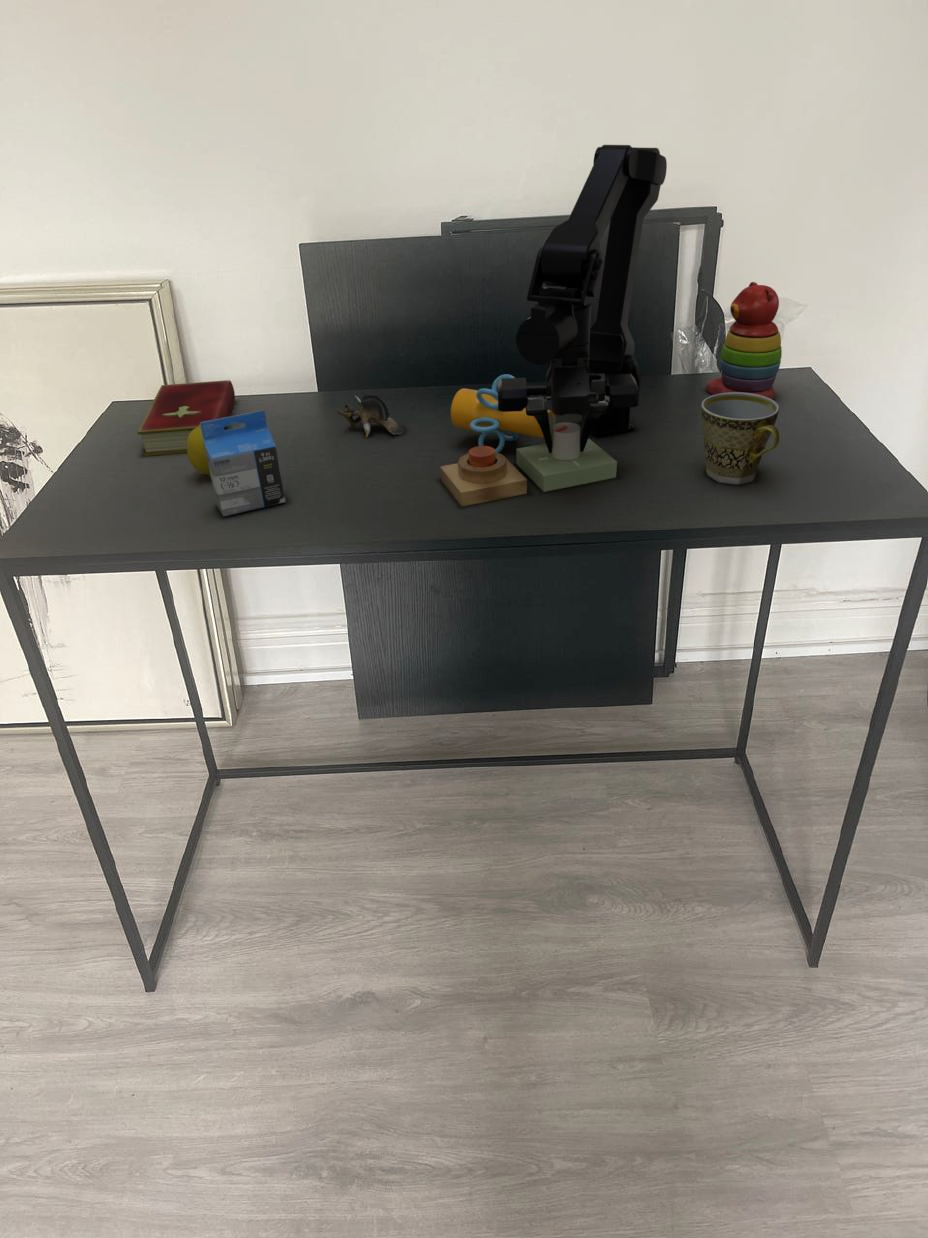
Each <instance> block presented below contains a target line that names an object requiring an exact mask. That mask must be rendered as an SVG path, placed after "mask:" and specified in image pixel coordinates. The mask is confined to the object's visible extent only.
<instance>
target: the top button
mask: <svg viewBox="0 0 928 1238" xmlns="http://www.w3.org/2000/svg"><path fill="white" fill-rule="evenodd" d="M495 449H496V448H494V447H492V446H488V445H484V446H479V445H478V446H477V445H476V446H474V447H472V448H470V449H469V450H468V453H469V464H470V466H474V467H488V466H492V465H494V464H495Z"/></svg>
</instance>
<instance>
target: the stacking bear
mask: <svg viewBox="0 0 928 1238" xmlns="http://www.w3.org/2000/svg"><path fill="white" fill-rule="evenodd" d="M779 307H780V299H779V295H778V294H777V291H775V289H774V288H772V287H771V286H769V285H765V284H758V283H757V282H756V281H751V282H749V285H748V286H747V287H745V288H743V289H742V290H741V291H740V292H739V293H738V294H737V296H736V297H735V298H734V299H733V301H732V302H731V304H730V308H729V311H730V314H731V317H732V318H733V319H734V322H732V324H731V325H730V326H729V330H728V331H727V334H726V336H725V339H724V343H723V345H722V348H721V351H720V359H719V360H720V363H719V364H720V371H721V372H720V373H721V377H718V378H717V377H716V378H714V379H711V380H709V382H708V383H707V384H706V391H707V393H708V394H711V395H716V394H721V393H729V392H743V393H752V394H757V395H761V396H765V397H767V398H770V399H772V400H773V399H774V398H775V389H774V383H775V380H776V378H777V374H778V373H779V370H780V366H781V363H782V356H783V355H782V353H783V351H782V350H783V349H782V337H781V336H782V335H781V332H780V330H779V328H778V326H777V324H776V323H775V322H773V321H774V320H775V318H776V316H777V313H778V310H779Z"/></svg>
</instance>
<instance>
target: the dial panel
mask: <svg viewBox="0 0 928 1238" xmlns="http://www.w3.org/2000/svg"><path fill="white" fill-rule="evenodd" d="M515 452H516V466H518V467H519V469H521V471H523V472H524V473H525V474H526V475H527V476H528V478H530V479H531V480H532V482H533V483H534V484H536V486H538V488H540V490H541V491H542V492H543V493H545V492H549V491H551V492H552V491H555V490H560V489H564V488H571V487H575V486H580V485H586V484H589V483H595V482H600V481H604V480H610V479H615V478H617V469H618V461H617V460H616V459H614V457H612V456H611V455H610V454H608V453H607V452H606V451H605V450H604V449H602V448H601V447H600V446H599V445H598V444H596V443H595V442H593V440H592V439H590V437H589V438H588V441H587V443H586V446H585V448H584V451H583V452H580V456H579V457H578V458H576V459H573V460H559V459H555V458H554V457H552V453H549V451H548V448H547V445H546V442H545V443H541V444H535V445H530V446H529V445H528V446H524V447H519V448H516V451H515Z"/></svg>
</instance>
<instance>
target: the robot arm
mask: <svg viewBox="0 0 928 1238" xmlns="http://www.w3.org/2000/svg"><path fill="white" fill-rule="evenodd" d="M667 166H668V162H667V158H666V157H665V155H663V154H661V152H660V149H659V148H658V147H634V146H633V147H632V146H631V144H603V145H601V146H598V147H597V148H596V149H595V151H594V155H593V165H592V168H591V169H590V171H589V174H588V176H587V178H586V180H585V182H584V184H583V186H582V189H581V191H580V193H579V195H578V197H577V199H576V202H575V204H574V206H573V208H572V210H571V213H570V215H569V216H568V218H567V220H565V221H563V222H562V223H560V224H558V225H557V226H555V227H553V229H551V231H550V233H549V234H548V235H547V237H546V239H545V240H544V242H543V244H542V246H541V247H540V248H539V250H538V252H537V255H536V258H535V263H534V267H533V272H532V275H531V279H530V283H529V288H528V292H527V295H526V301H527V302H533V303H534V302H536V303H537V304H534V305H533V306H531V308H530V317H528V318H526V319H525V320H524V321H523V322H522V323H521V324H520V325H519V327H518V329H517V333H516V334H515V343H516V347H517V350H518V352H519V354H520V355H521V357H523V358H524V360H526V361H527V362H529V363H531V364H534V365H539V366H540V365H541V366H542V365H545V385H544V384H543V385H528V383H527V377H515V378H503V379H501V380H500V381H499V382H498V387H497V393H498V411H501V412H513V411H522V410H523V409H524V408H525V409H526V415H528V416H534V417H535V419H536V420H537V422H538V424H539V426H540V428H541V430H542V433H543V436H544V438H543V439H544V442H545V443H546V445H547V448H548V451H549V453H552V435H551V432H550V425H549V417H548V410H549V409H548V404H547V401H551V402H550V403H551V411H552V412H553V413H554V414H555V416H564V415H579V416H581V419H579V425H580V427H581V438H580V452H583V451H584V448H585V446H586V443H587V441H588V438H589V439H590V436H591V434H593V435H594V436H595V437H604V436H609V435H615V434H620V433H625V432H626V433H627V432H630V431H634V430H635V426H634V425H633V424H632V423H630V417H631V415H630V414H631V408H636V407H638V406H639V399H640V391H641V390H640V389H641V382H642V379H641V378H642V371H641V369H640V366H639V363H638V361H637V358H636V356H635V349H636V344H635V341H634V338H633V336H632V333H631V331H630V329H629V326H628V321H629V315H630V308H631V303H632V302H631V301H632V295H633V290H634V289H633V288H634V282H635V276H636V269H637V264H638V262H637V261H638V256H639V250H640V245H641V244H640V243H641V236H642V231H643V224H644V219H645V218H646V216H647V215H648V214H649V212H650V211H651V209H652V208H653V207H654V206H655V204H656V203H657V202H658V200H659V195H660V190H661V187H662V185H663V184H664V183H665V180H666V176H667V168H668V167H667ZM607 228H608V232H607V239H606V244H605V245H606V246H605V253H604V256H603V249H602V244H601V242H602V239H603V237H604V234H605V232H606V229H607ZM599 284H600V286H599ZM543 285H545V286H547V287H543ZM554 287H555V288H554ZM556 287H558V288H556ZM598 288H599V294H598V300H597V307H596V313H595V320H594V322H593V323H592V324H591V321H592V320H591V318H592V316H591V315H592V301H591V300H592V298H595V297H596V294H597V291H598Z"/></svg>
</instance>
